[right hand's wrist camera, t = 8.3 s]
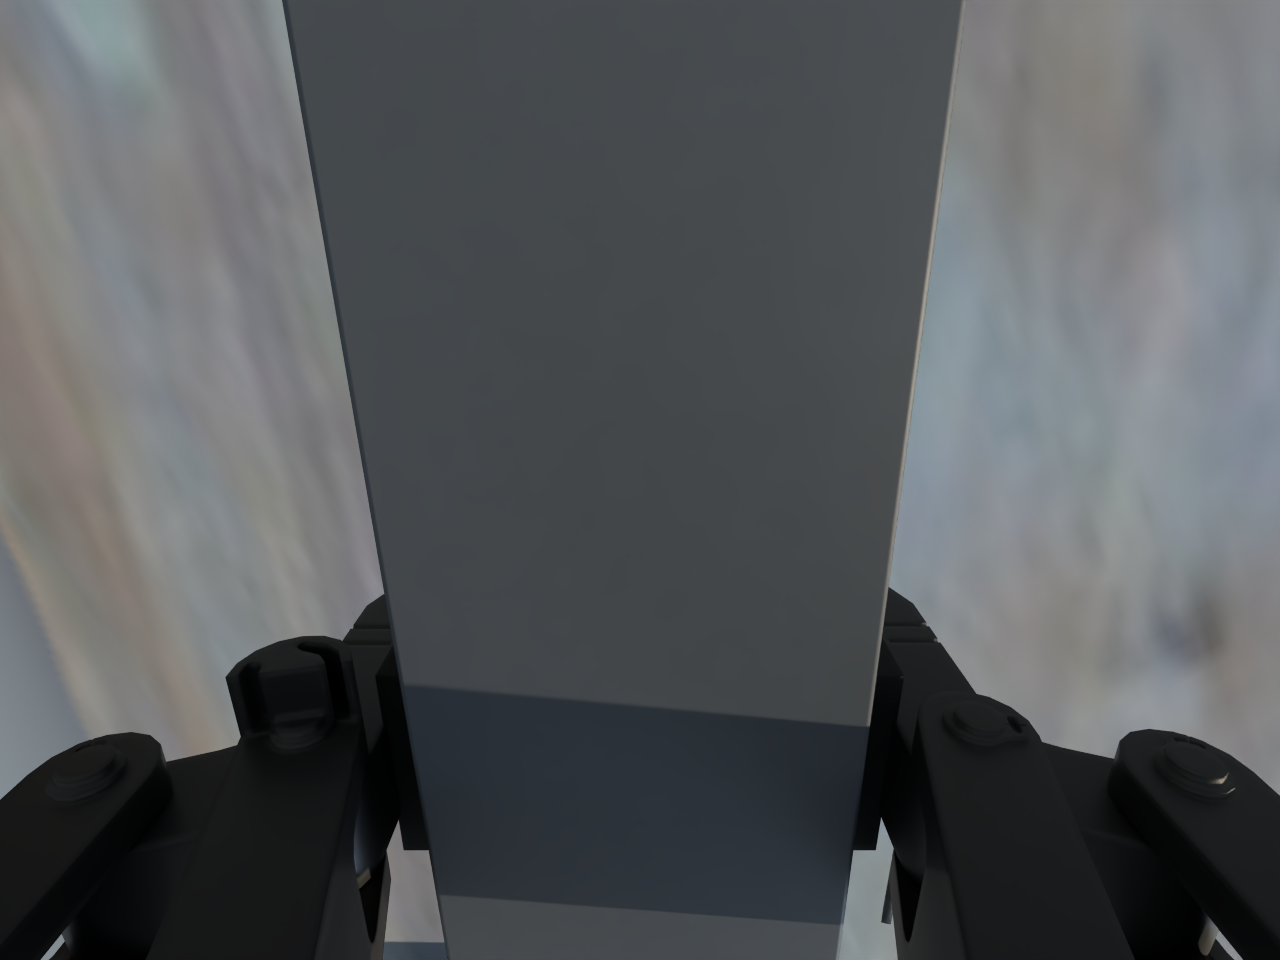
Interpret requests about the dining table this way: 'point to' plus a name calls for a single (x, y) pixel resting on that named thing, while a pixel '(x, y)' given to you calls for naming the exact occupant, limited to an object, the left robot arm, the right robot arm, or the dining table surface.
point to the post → (633, 436)
